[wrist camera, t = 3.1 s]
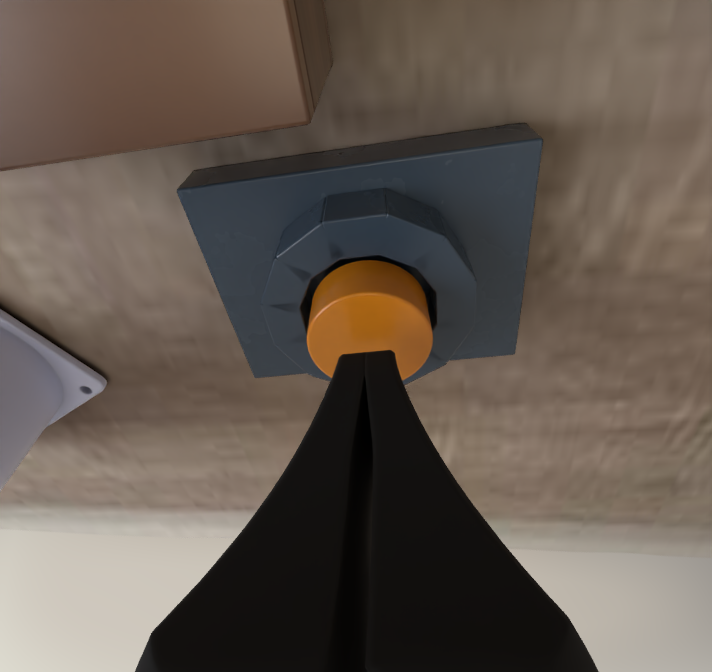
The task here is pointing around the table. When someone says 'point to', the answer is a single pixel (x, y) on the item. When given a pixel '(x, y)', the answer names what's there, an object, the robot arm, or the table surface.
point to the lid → (144, 75)
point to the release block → (373, 237)
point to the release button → (369, 316)
